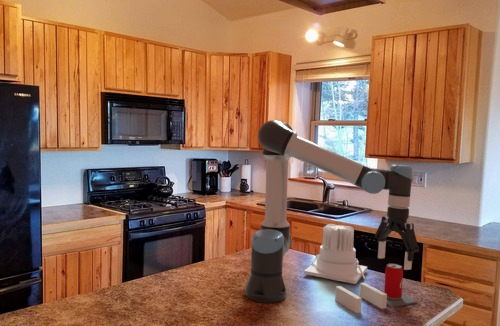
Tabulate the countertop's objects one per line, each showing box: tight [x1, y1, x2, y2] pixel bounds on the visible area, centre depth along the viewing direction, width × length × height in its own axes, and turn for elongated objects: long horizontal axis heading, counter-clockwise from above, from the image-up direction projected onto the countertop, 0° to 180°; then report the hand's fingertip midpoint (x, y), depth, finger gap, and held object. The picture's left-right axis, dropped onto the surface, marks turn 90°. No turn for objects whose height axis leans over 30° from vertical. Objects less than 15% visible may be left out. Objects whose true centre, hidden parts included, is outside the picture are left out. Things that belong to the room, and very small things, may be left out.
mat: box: [381, 290, 418, 308], centre depth 153 cm, size 12×12×1 cm
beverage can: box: [383, 263, 404, 300], centre depth 153 cm, size 6×6×12 cm
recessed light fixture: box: [303, 223, 368, 285], centre depth 178 cm, size 25×22×21 cm
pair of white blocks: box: [334, 282, 387, 314], centre depth 147 cm, size 13×12×5 cm
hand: (393, 263), depth 152 cm, fingers open, 13 cm apart
